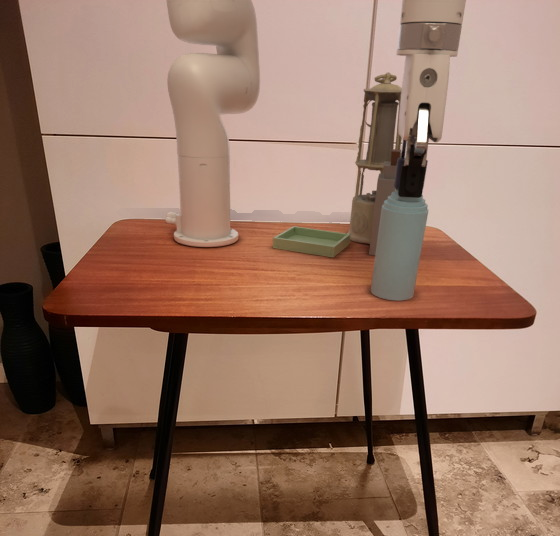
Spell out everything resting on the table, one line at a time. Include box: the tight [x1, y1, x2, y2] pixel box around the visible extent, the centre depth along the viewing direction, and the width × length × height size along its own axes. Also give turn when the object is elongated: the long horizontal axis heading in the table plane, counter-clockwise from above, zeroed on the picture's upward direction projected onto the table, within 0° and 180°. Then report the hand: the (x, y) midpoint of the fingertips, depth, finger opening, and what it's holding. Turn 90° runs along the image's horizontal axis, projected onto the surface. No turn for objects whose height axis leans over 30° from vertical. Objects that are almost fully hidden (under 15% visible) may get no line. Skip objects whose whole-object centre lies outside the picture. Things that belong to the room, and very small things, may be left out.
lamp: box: [346, 72, 402, 245], centre depth 106 cm, size 10×13×30 cm
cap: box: [394, 157, 429, 188], centre depth 76 cm, size 4×4×4 cm
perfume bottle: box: [368, 148, 401, 256], centre depth 100 cm, size 7×7×18 cm
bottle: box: [370, 188, 429, 302], centre depth 80 cm, size 7×7×19 cm
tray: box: [272, 225, 351, 258], centre depth 105 cm, size 12×10×2 cm
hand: (408, 192), depth 77 cm, fingers closed on cap, 3 cm apart
